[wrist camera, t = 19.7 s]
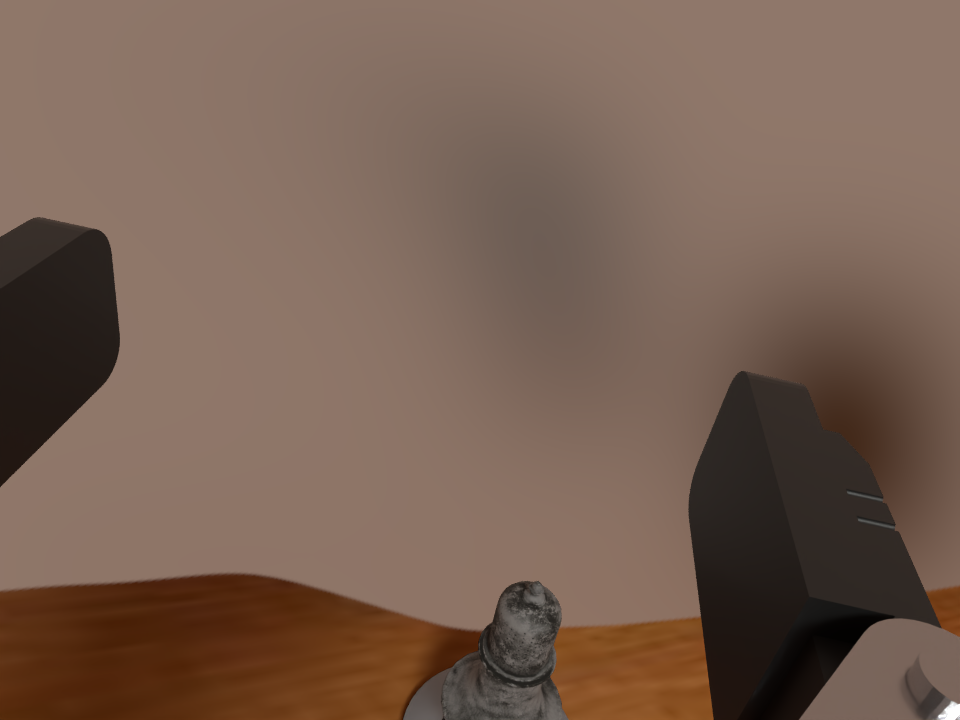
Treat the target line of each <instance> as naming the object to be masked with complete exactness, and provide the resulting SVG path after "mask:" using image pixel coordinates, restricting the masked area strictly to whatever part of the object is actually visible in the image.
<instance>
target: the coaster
mask: <svg viewBox="0 0 960 720" xmlns="http://www.w3.org/2000/svg"><path fill="white" fill-rule="evenodd" d="M450 669H451V668H449V669H447V670H444V671H442V672H440V673H438V674H437V675H435V676H434V677H432V678H431V679H430V680H428V681H427V682H426V683H425V684H424V685H423V686H422V687H421V688H420V689H419V690H418V691H417V692H416V694H415V695H414V697H413V698H412V700H411V701H410V703H409V705H408V707H407V709H406V712H405V715H404V718H403V720H442V719H443V716H444V715H443V710H442V705H441V695H442V686H443V683H444V681H445V678H446V676H447V673H448V672H449V671H450ZM562 720H568V718H567V716H566V714H565V713H564V711H563V709H562Z"/></svg>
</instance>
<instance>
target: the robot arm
mask: <svg viewBox="0 0 960 720" xmlns="http://www.w3.org/2000/svg"><path fill="white" fill-rule="evenodd" d="M119 346H120V333H119V324H118V313H117V304H116V293H115V283H114V273H113V263H112V254H111V248H110V244H109V241H108V239H107V237H106V236H105V234H104V233H102V232H101V231H99V230H97V229H92V228H87V227H83V226H78V225H74V224H69V223H65V222H60V221H55V220H50V219H46V218H40V217H37V218H33V219H31V220H29V221H27V222H25V223H23V224H22V225H20V226H18V227H17V228H15V229H13V230H11V231H10V232H8V233H7V234H5V235H3V236H1V237H0V487H1V486H2V485H3V484H4V483H5V482H6V481H7V480H8V479H9V477H11V475H12V474H14V473H15V471H17V470H18V469H19V468H20V467H21V466H22V465H23V464H24V463H25V462H26V461H27V460H28V459H29V458H30V457H31V456H32V455H33V454H34V453H35V452H36V451H37V450H38V449H39V448H40V447H41V446H42V445H43V444H44V443H45V442H46V441H47V440H48V439H49V438H50V437H51V436H52V435H53V434H54V433H55V432H56V431H57V430H58V429H59V428H60V427H61V426H62V425H63V424H64V423H65V422H66V421H67V420H68V419H69V418H70V417H71V416H72V415H73V414H74V413H75V412H76V411H77V410H78V409H79V408H80V407H81V406H82V405H83V404H84V403H85V402H86V401H87V400H88V399H89V398H90V397H91V396H92V395H93V394H94V393H95V392H96V391H97V390H98V389H99V388H100V387H101V386H102V385H103V384H104V383H105V382H106V381H107V379H108V378H109V376H110V374H111V373H112V371H113V368H114V366H115V363H116V360H117V357H118V352H119ZM882 500H883V495H882V493H881V490H880V488H879V486H878V484H877V481H876V479H875V477H874V475H873V472H872V470H871V468H870V465H869V464H868V463H867V462H866V461H865V460H864V459H863V458H862V456H860V455H859V453H858V452H857V451H856V450H855V449H854V448H853V447H852V446H851V445H850V444H849V443H848V442H847V441H846V440H845V438H844V437H843V436H842V435H841V434H840V433H836V432H832V431H827V430H823V428H822V426H821V423H820V421H819V418H818V416H817V413H816V410H815V407H814V405H813V402H812V400H811V397H810V395H809V392H808V390H807V388H806V386H805V385H803V384H801V383H796V382H791V381H787V380H782V379H778V378H773V377H769V376H764V375H759V374H755V373H750V372H745V371H741V372H739V373H738V374H737V375H736V376H735V378H734V379H733V381H732V383H731V384H730V386H729V389H728V391H727V394H726V396H725V398H724V401H723V403H722V406H721V408H720V410H719V413H718V415H717V418H716V420H715V423H714V425H713V427H712V430H711V432H710V435H709V438H708V439H707V442H706V444H705V447H704V449H703V452H702V454H701V456H700V459H699V461H698V464H697V466H696V469H695V472H694V476H693V480H692V484H691V489H690V495H689V522H690V530H691V538H692V547H693V555H694V562H695V570H696V579H697V587H698V595H699V603H700V612H701V620H702V628H703V636H704V644H705V652H706V660H707V668H708V677H709V685H710V693H711V701H712V709H713V717H714V720H960V637H958V636H956V635H954V634H952V633H950V632H948V631H946V630H944V629H942V628H941V626H940V624H939V621H938V619H937V617H936V614H935V612H934V610H933V608H932V605H931V603H930V601H929V599H928V596H927V594H926V592H925V590H924V587H923V585H922V583H921V581H920V578H919V576H918V574H917V572H916V569H915V567H914V565H913V563H912V560H911V558H910V556H909V554H908V551H907V549H906V547H905V544H904V542H903V540H902V538H901V535H900V533H899V532H898V531H895V522H894V520H893V517H892V515H891V513H890V511H889V508H888V506H887V504H885V503H882Z"/></svg>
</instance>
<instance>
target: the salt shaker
mask: <svg viewBox="0 0 960 720" xmlns="http://www.w3.org/2000/svg"><path fill="white" fill-rule="evenodd" d="M560 623H561V607H560V604H559V602H558V600H557V599H556V597H555V596H554V595H553V593H552V592H551V591H550V590H548V589H547V588H546V587H544V586H543V585H542V584H541V583H540V582H539V581H536V582H530V581H524V582H523V581H522V582H518V583H515V584H512V585H510V586H509V587H507V588H506V589H505V590H504V592H503V593H502V594H501V596H500V598H499V601H498V604H497V608H496V611H495V615H494V619H493V622H492V623H491V624H489V625H488V626H487V627H486V628H485V629H484V630H483V632H482V633H481V636H480V639H479V642H478V651H476V652H473V653H470V654H467V655H466V656H465V657H463V658H462V659H460V660H459V661H457V662H456V663H455V664H454V666H453V667H452V668H451V669H450V671H449V672H448V673H447V676H446V678H445V681H444V683H443V686H442V695H441V705H442V710H443V715H444V716H443V719H442V720H562V703H561V699H560V696H559V693H558V690H557V688H556V686H555V684H554V683H553V681H552V680H551V678H550V676H551V674H552V673H553V671H554V668H555V664H556V651H555V649H554V646H553V645H554V642H555V639H556V636H557V633H558V630H559V627H560Z"/></svg>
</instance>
